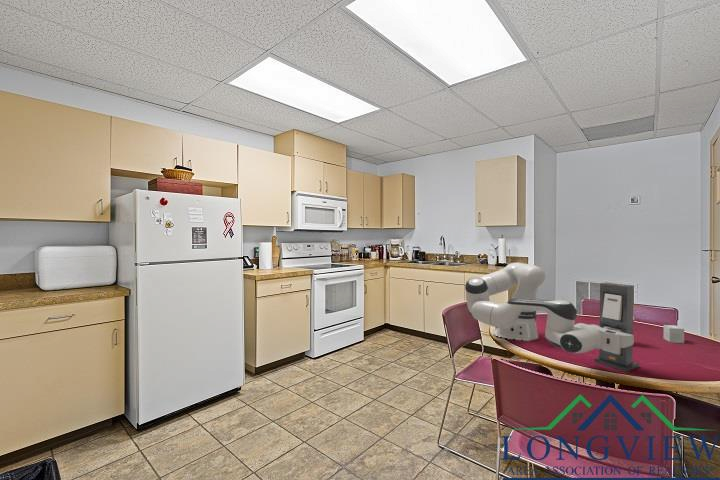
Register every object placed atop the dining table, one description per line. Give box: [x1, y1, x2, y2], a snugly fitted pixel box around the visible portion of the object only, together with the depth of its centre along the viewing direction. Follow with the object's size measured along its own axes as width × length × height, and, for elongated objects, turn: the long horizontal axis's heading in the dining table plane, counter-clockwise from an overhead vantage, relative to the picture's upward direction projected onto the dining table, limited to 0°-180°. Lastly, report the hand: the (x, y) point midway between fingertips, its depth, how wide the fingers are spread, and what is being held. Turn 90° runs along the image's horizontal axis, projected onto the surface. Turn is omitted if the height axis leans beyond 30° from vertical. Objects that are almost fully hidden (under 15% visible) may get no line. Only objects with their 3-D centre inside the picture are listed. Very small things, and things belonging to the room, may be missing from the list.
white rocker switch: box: [602, 293, 623, 321], centre depth 140 cm, size 2×6×10 cm, turn 29°
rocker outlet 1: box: [602, 326, 622, 355], centre depth 141 cm, size 2×6×10 cm, turn 29°
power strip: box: [594, 281, 640, 373], centre depth 142 cm, size 10×12×34 cm
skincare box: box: [663, 324, 685, 344], centre depth 171 cm, size 6×6×7 cm
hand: (611, 330), depth 140 cm, fingers closed, pressing on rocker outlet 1
